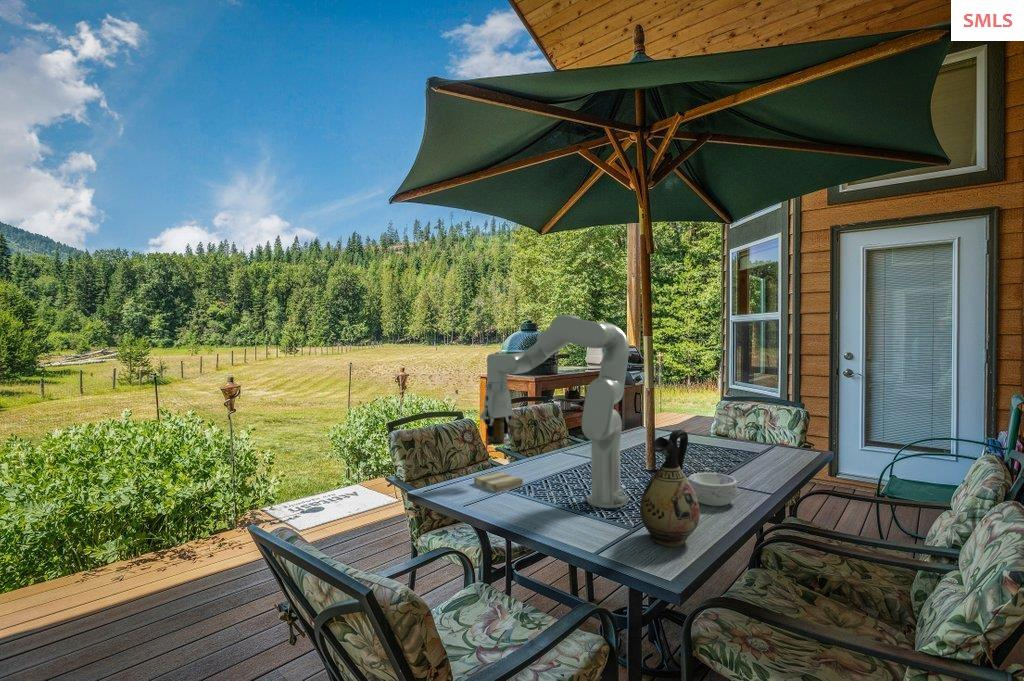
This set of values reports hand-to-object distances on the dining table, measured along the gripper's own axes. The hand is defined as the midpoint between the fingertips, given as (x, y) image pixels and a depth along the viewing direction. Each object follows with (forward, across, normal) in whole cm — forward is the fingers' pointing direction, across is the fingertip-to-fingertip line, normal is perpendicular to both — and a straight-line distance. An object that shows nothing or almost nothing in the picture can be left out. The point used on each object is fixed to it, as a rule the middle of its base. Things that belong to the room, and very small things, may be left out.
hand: (497, 434), depth 186 cm
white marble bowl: (+19, +42, -62) cm, 77 cm away
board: (+19, 0, 0) cm, 19 cm away
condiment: (+3, 0, 0) cm, 3 cm away
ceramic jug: (+19, +5, -70) cm, 73 cm away
